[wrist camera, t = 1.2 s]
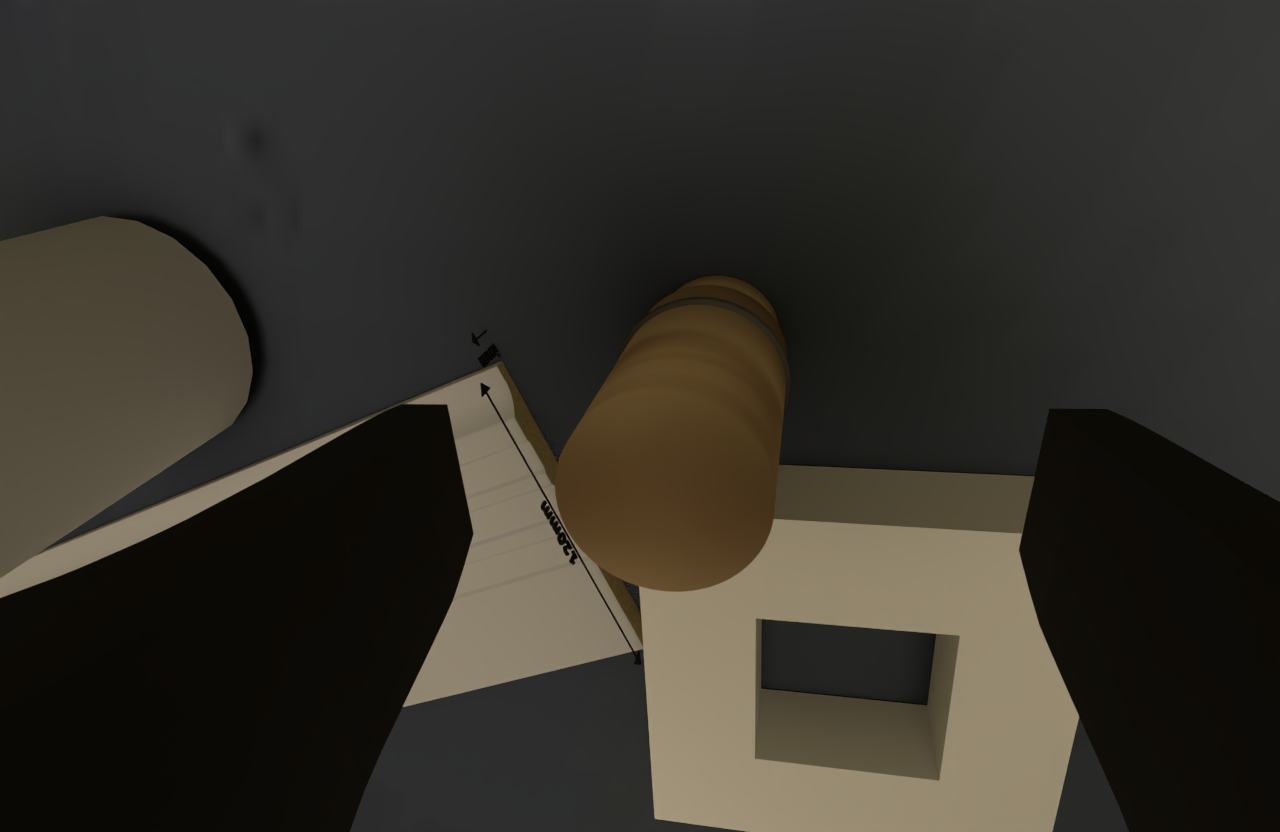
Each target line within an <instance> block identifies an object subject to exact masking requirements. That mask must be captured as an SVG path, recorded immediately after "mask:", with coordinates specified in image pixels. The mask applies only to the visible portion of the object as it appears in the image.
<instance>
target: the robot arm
mask: <svg viewBox="0 0 1280 832" xmlns="http://www.w3.org/2000/svg"><path fill="white" fill-rule="evenodd" d="M473 534H474V533H473V528H472V523H471V518H470V513H469V508H468V503H467V499H466V494H465V489H464V484H463V479H462V474H461V469H460V464H459V460H458V455H457V450H456V445H455V440H454V435H453V430H452V425H451V420H450V416H449V411H448V406H447V404H401V405H398V406H396V407H394V408H391V409H389V410H387V411H385V412H382V413H380V414H378V415H376V416H374V417H373V418H371V419H369V420H367V421H365V422H363V423H361V424H359V425H358V426H356V427H354V428H352V429H350V430H349V431H347V432H345V433H343V434H341V435H340V436H338V437H336V438H334V439H333V440H331V441H329V442H327V443H326V444H324V445H322V446H320V447H319V448H317V449H315V450H313V451H312V452H310V453H308V454H306V455H305V456H303V457H301V458H299V459H298V460H296V461H294V462H292V463H291V464H289V465H287V466H285V467H284V468H282V469H280V470H278V471H276V472H275V473H273V474H271V475H269V476H268V477H266V478H264V479H262V480H260V481H258V482H256V483H255V484H253V485H251V486H249V487H247V488H245V489H243V490H241V491H239V492H237V493H236V494H234V495H232V496H230V497H228V498H226V499H224V500H222V501H220V502H219V503H217V504H215V505H213V506H211V507H209V508H207V509H205V510H203V511H201V512H200V513H198V514H196V515H194V516H192V517H190V518H188V519H186V520H184V521H182V522H180V523H178V524H176V525H174V526H172V527H170V528H168V529H166V530H164V531H162V532H159V533H157V534H155V535H153V536H151V537H149V538H147V539H144V540H142V541H140V542H138V543H136V544H134V545H131V546H129V547H127V548H124V549H122V550H120V551H117V552H115V553H113V554H111V555H108V556H106V557H104V558H101V559H99V560H97V561H94V562H92V563H90V564H88V565H85V566H83V567H80V568H78V569H76V570H73V571H71V572H68V573H66V574H63V575H61V576H58V577H56V578H53V579H50V580H47V581H45V582H42V583H39V584H37V585H34V586H31V587H29V588H26V589H23V590H20V591H18V592H15V593H12V594H10V595H7V596H4V597H2V598H0V832H350V829H351V826H352V823H353V821H354V818H355V815H356V812H357V810H358V807H359V804H360V801H361V798H362V796H363V793H364V790H365V788H366V785H367V783H368V781H369V778H370V776H371V774H372V771H373V769H374V767H375V764H376V762H377V760H378V757H379V755H380V753H381V751H382V749H383V747H384V745H385V742H386V740H387V738H388V736H389V734H390V732H391V730H392V728H393V726H394V724H395V722H396V720H397V717H398V715H399V713H400V711H401V709H402V707H403V705H404V703H405V701H406V699H407V697H408V695H409V693H410V690H411V688H412V686H413V684H414V682H415V680H416V678H417V676H418V674H419V672H420V670H421V668H422V666H423V663H424V661H425V659H426V657H427V655H428V653H429V651H430V649H431V647H432V645H433V642H434V640H435V638H436V636H437V634H438V632H439V630H440V628H441V625H442V623H443V621H444V619H445V617H446V615H447V612H448V610H449V608H450V606H451V604H452V601H453V599H454V596H455V593H456V590H457V587H458V584H459V581H460V578H461V575H462V572H463V568H464V565H465V561H466V558H467V555H468V551H469V548H470V544H471V541H472V537H473ZM1019 553H1020V557H1021V561H1022V565H1023V569H1024V573H1025V576H1026V580H1027V584H1028V588H1029V592H1030V595H1031V598H1032V602H1033V605H1034V609H1035V612H1036V615H1037V619H1038V622H1039V625H1040V628H1041V630H1042V632H1043V635H1044V637H1045V640H1046V642H1047V644H1048V647H1049V649H1050V651H1051V654H1052V656H1053V658H1054V660H1055V663H1056V665H1057V667H1058V670H1059V672H1060V674H1061V676H1062V679H1063V681H1064V683H1065V686H1066V688H1067V690H1068V692H1069V695H1070V697H1071V699H1072V701H1073V704H1074V706H1075V708H1076V710H1077V712H1078V715H1079V717H1080V719H1081V721H1082V724H1083V726H1084V728H1085V730H1086V733H1087V735H1088V737H1089V739H1090V742H1091V744H1092V746H1093V748H1094V751H1095V753H1096V755H1097V757H1098V759H1099V762H1100V764H1101V766H1102V768H1103V771H1104V773H1105V775H1106V777H1107V780H1108V782H1109V784H1110V786H1111V789H1112V791H1113V793H1114V795H1115V798H1116V800H1117V802H1118V804H1119V807H1120V809H1121V812H1122V814H1123V817H1124V819H1125V822H1126V824H1127V827H1128V829H1129V832H1280V502H1279V501H1277V500H1275V499H1273V498H1271V497H1269V496H1268V495H1266V494H1264V493H1262V492H1260V491H1259V490H1257V489H1255V488H1253V487H1251V486H1250V485H1248V484H1246V483H1244V482H1242V481H1241V480H1239V479H1237V478H1235V477H1233V476H1232V475H1230V474H1228V473H1226V472H1225V471H1223V470H1221V469H1219V468H1217V467H1216V466H1214V465H1212V464H1210V463H1209V462H1207V461H1205V460H1203V459H1202V458H1200V457H1198V456H1196V455H1194V454H1193V453H1191V452H1189V451H1187V450H1186V449H1184V448H1182V447H1180V446H1179V445H1177V444H1175V443H1173V442H1171V441H1170V440H1168V439H1166V438H1164V437H1162V436H1160V435H1159V434H1157V433H1155V432H1153V431H1151V430H1149V429H1148V428H1146V427H1144V426H1142V425H1140V424H1138V423H1136V422H1134V421H1132V420H1130V419H1128V418H1126V417H1124V416H1122V415H1119V414H1117V413H1115V412H1112V411H1110V410H1108V409H1049V413H1048V418H1047V423H1046V427H1045V432H1044V436H1043V441H1042V446H1041V450H1040V455H1039V459H1038V464H1037V468H1036V473H1035V478H1034V482H1033V487H1032V491H1031V496H1030V500H1029V505H1028V510H1027V514H1026V519H1025V523H1024V528H1023V532H1022V537H1021V542H1020V546H1019Z"/></svg>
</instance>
